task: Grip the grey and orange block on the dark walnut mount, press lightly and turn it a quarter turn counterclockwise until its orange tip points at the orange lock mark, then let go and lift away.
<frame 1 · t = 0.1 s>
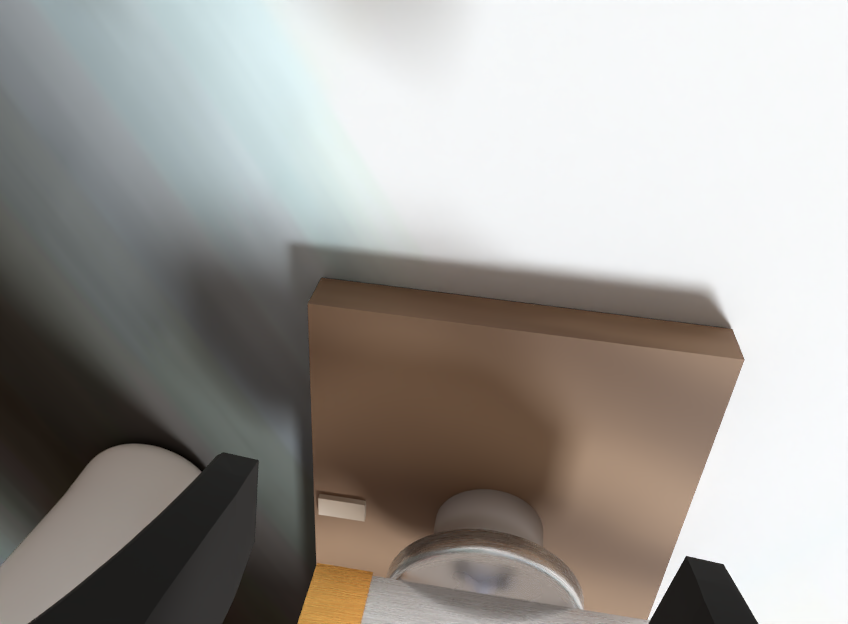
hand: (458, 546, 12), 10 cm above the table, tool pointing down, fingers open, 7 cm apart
drinking glass: (161, 484, 28), on the table
mount plate: (491, 494, 25), on the table
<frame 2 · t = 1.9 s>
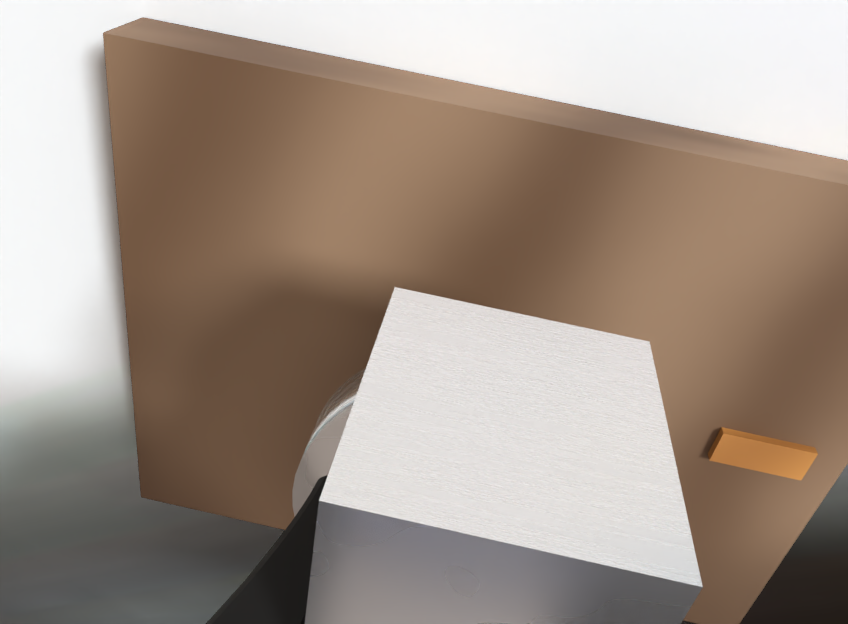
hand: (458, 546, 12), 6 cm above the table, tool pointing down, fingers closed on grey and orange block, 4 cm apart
mount plate: (483, 350, 17), on the table
grey and orange block: (450, 605, 11), point 7 cm above the table, hinge at 0.0°, touching gripper
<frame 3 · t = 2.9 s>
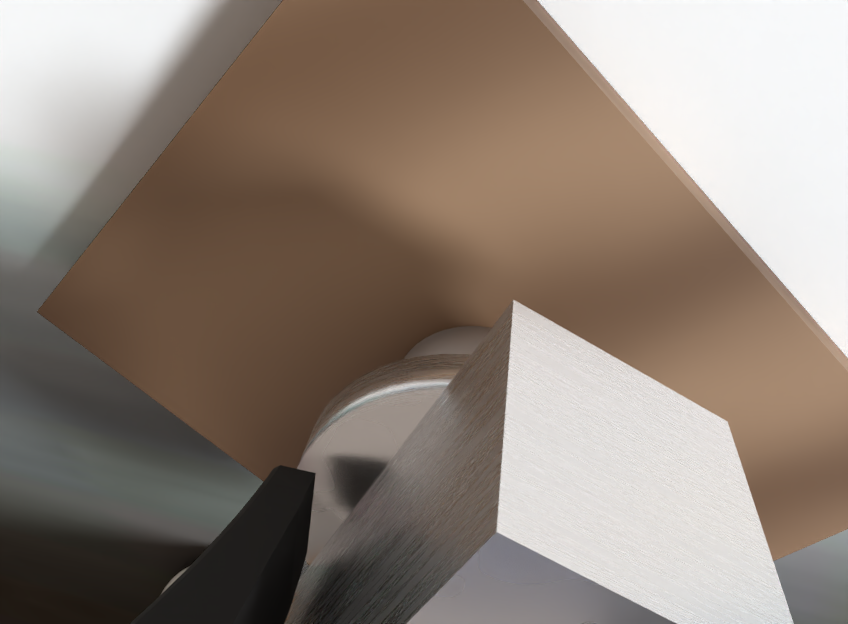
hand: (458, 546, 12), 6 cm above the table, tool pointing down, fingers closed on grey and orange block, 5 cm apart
mount plate: (481, 356, 17), on the table
grey and orange block: (444, 615, 11), point 7 cm above the table, hinge at 15.0°, touching gripper
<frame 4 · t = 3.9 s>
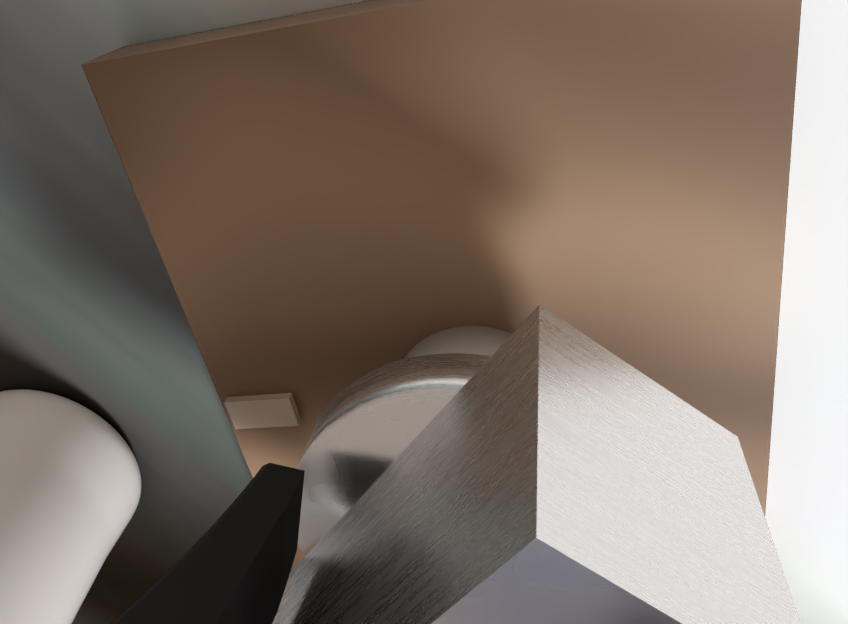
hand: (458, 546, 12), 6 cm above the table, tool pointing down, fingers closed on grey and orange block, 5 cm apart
drinking glass: (65, 447, 21), on the table
mount plate: (482, 355, 17), on the table
grey and orange block: (444, 613, 11), point 7 cm above the table, hinge at 45.9°, touching gripper
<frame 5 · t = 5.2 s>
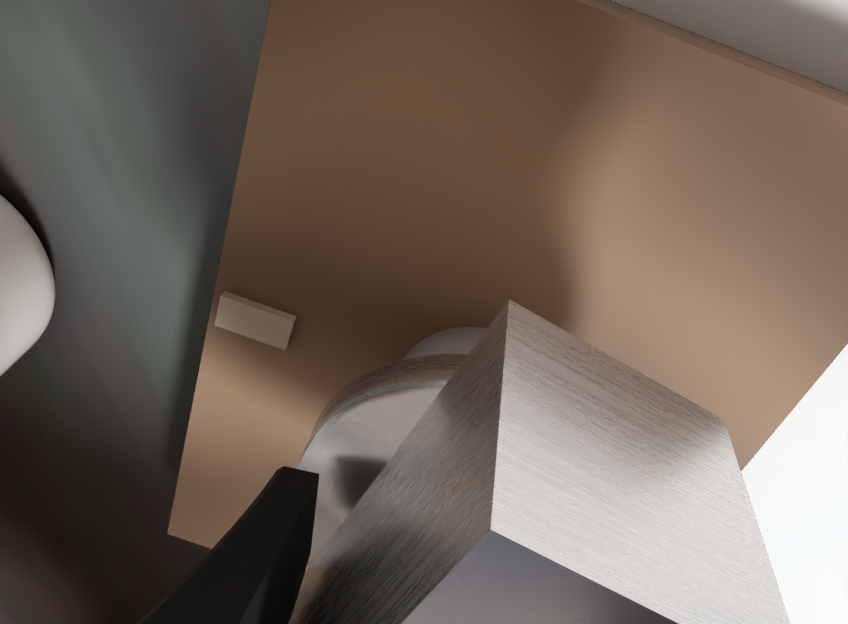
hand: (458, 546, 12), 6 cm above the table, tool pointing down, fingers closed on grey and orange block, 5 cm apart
mount plate: (480, 356, 17), on the table
grey and orange block: (443, 614, 11), point 7 cm above the table, hinge at 79.7°, touching gripper
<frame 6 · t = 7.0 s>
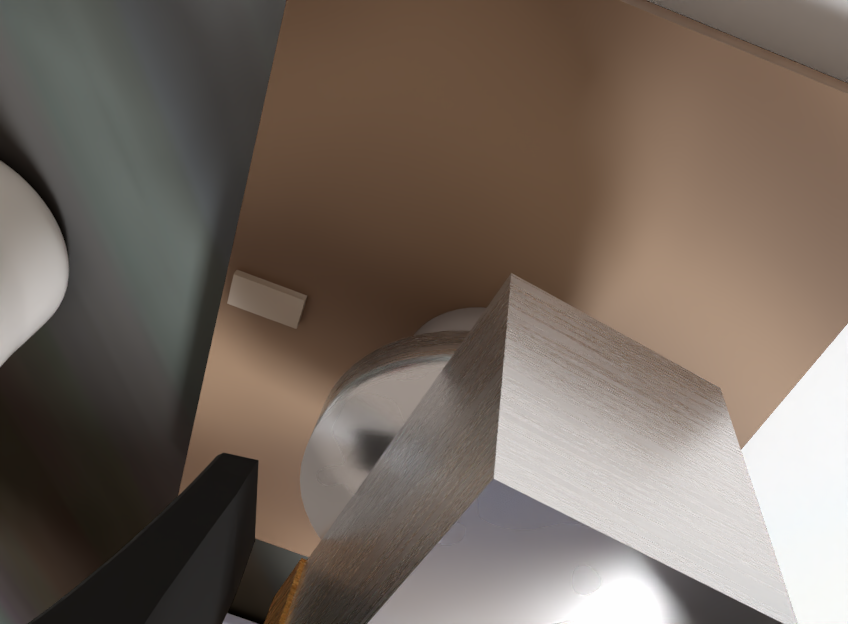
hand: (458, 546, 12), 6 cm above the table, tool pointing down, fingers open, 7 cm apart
mount plate: (486, 338, 17), on the table
grey and orange block: (451, 580, 12), point 7 cm above the table, hinge at 81.3°
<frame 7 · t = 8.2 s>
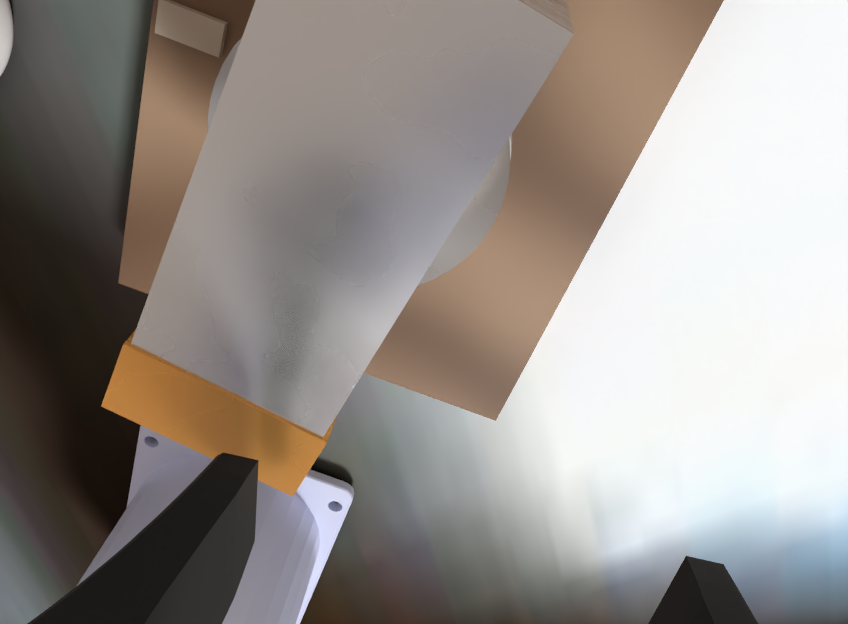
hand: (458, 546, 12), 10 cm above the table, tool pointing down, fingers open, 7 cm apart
mount plate: (400, 88, 19), on the table
grey and orange block: (335, 192, 13), point 7 cm above the table, hinge at 81.3°
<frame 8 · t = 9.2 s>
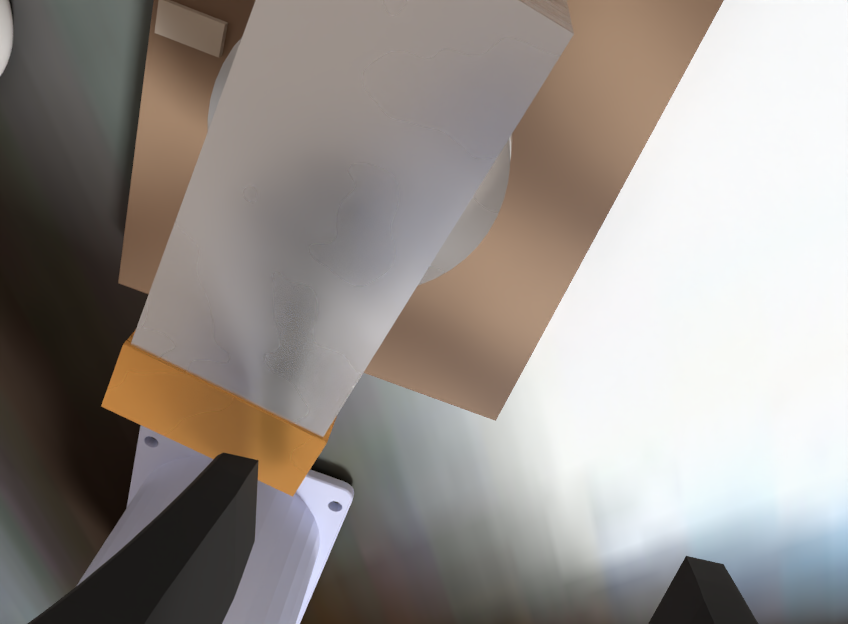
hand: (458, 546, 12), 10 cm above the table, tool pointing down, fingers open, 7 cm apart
mount plate: (400, 88, 19), on the table
grey and orange block: (335, 192, 13), point 7 cm above the table, hinge at 81.3°
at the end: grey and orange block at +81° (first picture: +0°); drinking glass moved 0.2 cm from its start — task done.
